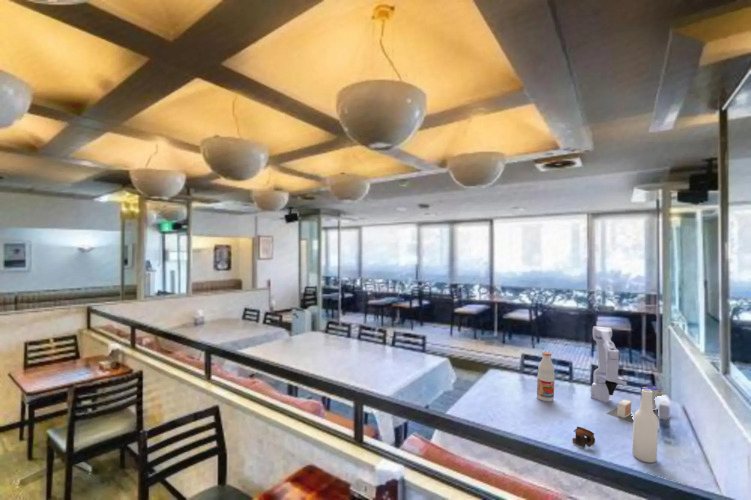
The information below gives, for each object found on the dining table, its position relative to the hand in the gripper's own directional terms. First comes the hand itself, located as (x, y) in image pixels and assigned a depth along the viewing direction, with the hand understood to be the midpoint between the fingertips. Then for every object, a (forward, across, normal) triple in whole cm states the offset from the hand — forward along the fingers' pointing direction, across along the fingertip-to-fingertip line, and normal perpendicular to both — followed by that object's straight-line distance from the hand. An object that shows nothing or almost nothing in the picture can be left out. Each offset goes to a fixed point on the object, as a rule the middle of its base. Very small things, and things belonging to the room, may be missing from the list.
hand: (611, 394), depth 215 cm
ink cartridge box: (+10, +12, +24) cm, 29 cm away
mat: (+9, +8, +1) cm, 12 cm away
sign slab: (+9, +7, 0) cm, 11 cm away
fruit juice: (+10, -30, -16) cm, 35 cm away
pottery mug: (+10, +9, -52) cm, 53 cm away
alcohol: (+10, +30, -41) cm, 52 cm away
